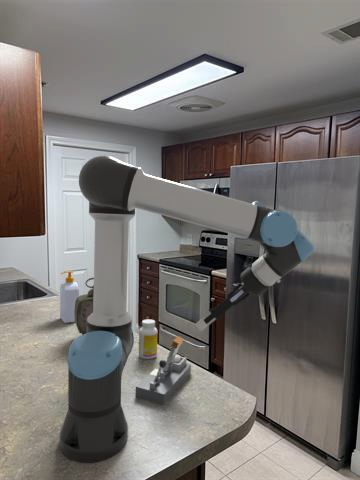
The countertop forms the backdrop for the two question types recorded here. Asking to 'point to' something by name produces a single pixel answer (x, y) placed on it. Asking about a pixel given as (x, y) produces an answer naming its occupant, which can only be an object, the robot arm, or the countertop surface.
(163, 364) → the toggle switch
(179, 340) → the paddle lever
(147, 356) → the supplement bottle
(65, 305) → the soap bottle
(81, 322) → the tabletop clock
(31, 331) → the countertop surface
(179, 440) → the countertop surface
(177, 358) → the push button
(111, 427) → the robot arm
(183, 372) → the switch panel
